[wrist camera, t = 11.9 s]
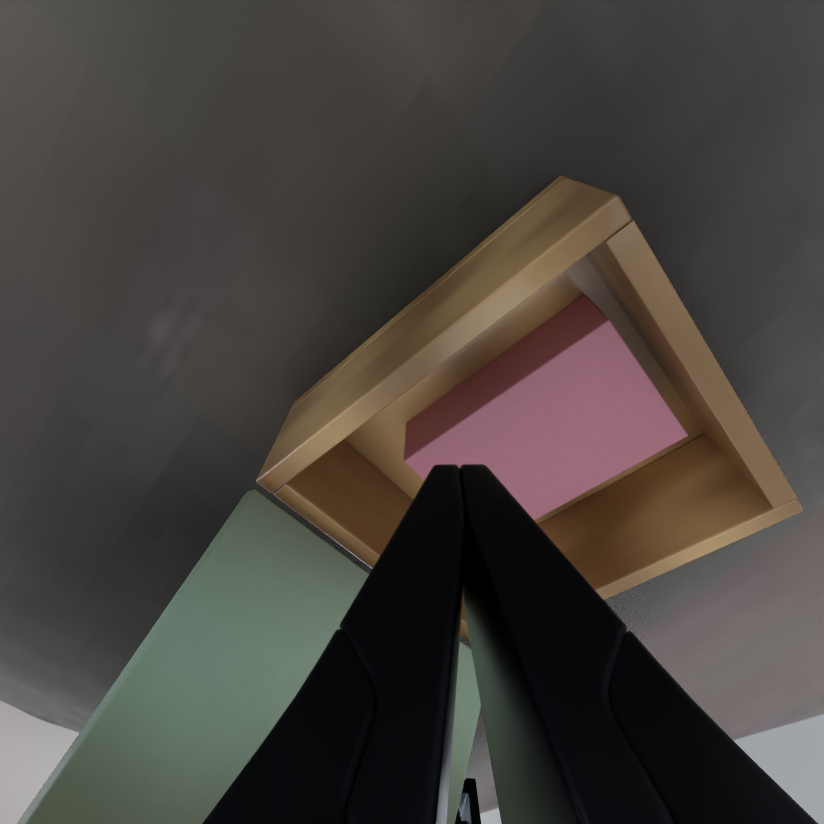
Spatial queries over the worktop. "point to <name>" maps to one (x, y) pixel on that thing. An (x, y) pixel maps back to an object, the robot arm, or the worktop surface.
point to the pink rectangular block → (549, 413)
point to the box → (490, 337)
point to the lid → (220, 679)
